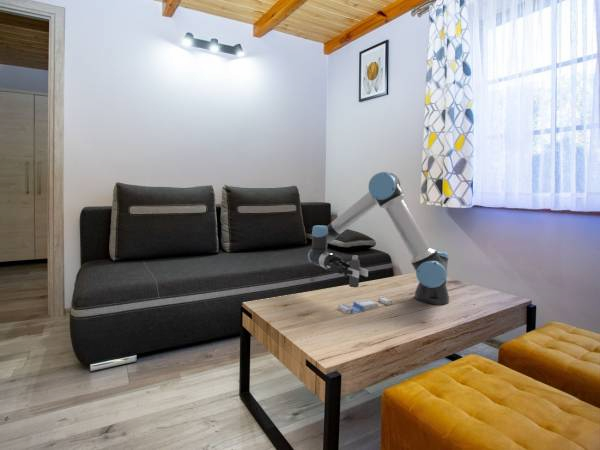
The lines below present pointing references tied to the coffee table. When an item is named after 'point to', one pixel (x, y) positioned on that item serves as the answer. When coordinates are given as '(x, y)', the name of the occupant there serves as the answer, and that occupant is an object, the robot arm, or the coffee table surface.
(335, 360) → the coffee table surface
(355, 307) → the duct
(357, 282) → the cable plug
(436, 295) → the robot arm
